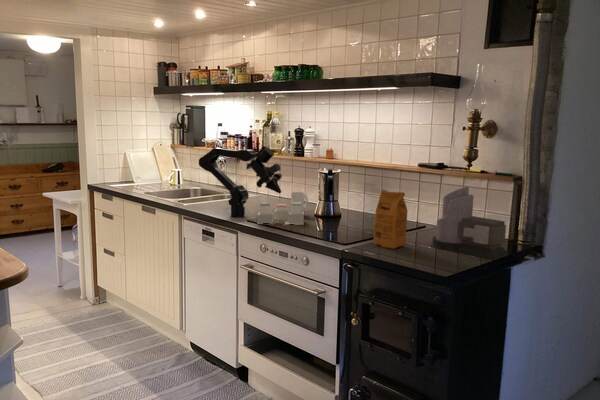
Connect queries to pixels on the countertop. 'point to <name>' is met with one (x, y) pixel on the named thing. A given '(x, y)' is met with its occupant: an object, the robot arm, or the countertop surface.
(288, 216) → the keypad
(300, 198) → the mug
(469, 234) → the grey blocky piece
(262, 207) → the key slate
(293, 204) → the key sage
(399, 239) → the coffee package
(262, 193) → the countertop surface
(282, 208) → the key terracotta
